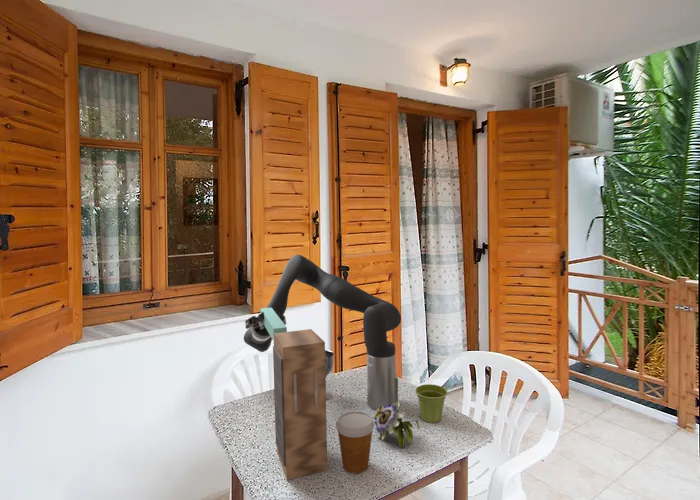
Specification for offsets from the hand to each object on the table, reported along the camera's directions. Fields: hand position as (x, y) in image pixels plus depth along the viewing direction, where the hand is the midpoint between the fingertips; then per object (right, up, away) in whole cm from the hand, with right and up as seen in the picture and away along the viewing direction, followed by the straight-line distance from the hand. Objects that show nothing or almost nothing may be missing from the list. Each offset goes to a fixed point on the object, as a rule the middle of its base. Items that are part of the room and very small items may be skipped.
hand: (269, 314), depth 125 cm
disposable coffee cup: (+26, -34, -25) cm, 50 cm away
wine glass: (+16, -30, +13) cm, 37 cm away
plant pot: (+50, -31, -3) cm, 59 cm away
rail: (+2, -4, -4) cm, 6 cm away
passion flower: (+37, -32, -13) cm, 51 cm away
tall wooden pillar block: (+13, -33, -23) cm, 43 cm away
